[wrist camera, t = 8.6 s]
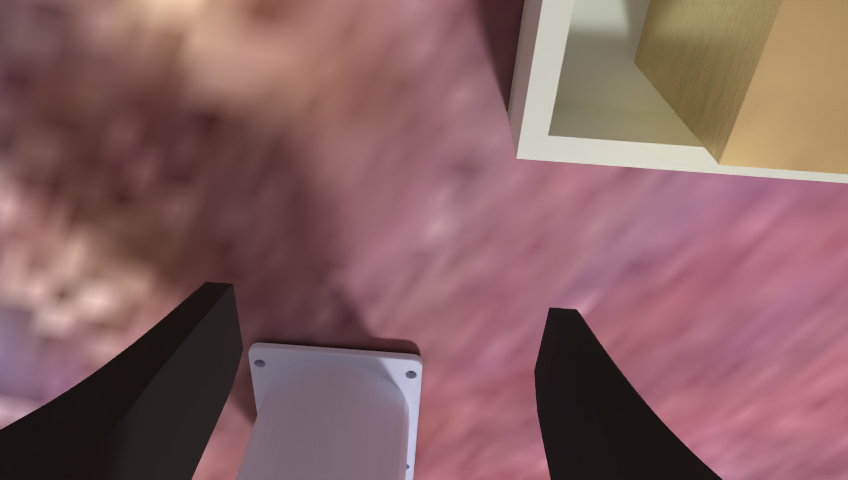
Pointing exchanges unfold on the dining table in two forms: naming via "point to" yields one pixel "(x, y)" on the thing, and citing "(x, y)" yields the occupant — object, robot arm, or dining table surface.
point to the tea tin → (754, 78)
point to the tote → (601, 95)
